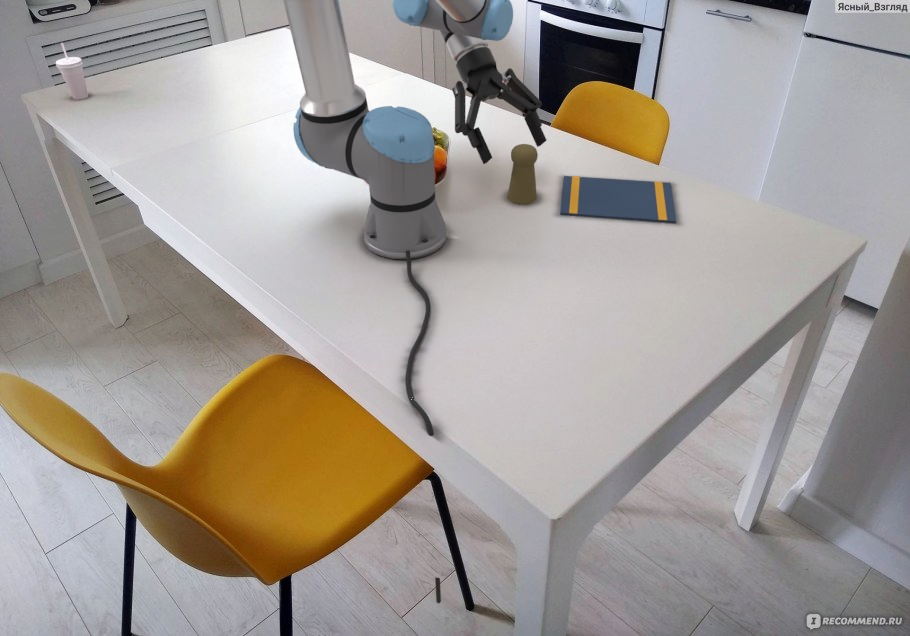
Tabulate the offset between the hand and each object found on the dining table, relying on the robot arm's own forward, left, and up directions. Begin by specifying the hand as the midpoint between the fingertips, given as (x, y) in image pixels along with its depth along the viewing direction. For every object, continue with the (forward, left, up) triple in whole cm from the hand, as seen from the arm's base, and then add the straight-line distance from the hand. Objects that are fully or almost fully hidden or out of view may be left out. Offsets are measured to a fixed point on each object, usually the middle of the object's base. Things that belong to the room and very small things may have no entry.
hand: (515, 152), depth 142 cm
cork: (-2, -2, -9) cm, 9 cm away
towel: (0, -21, -9) cm, 23 cm away
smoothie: (+37, +121, -9) cm, 127 cm away
